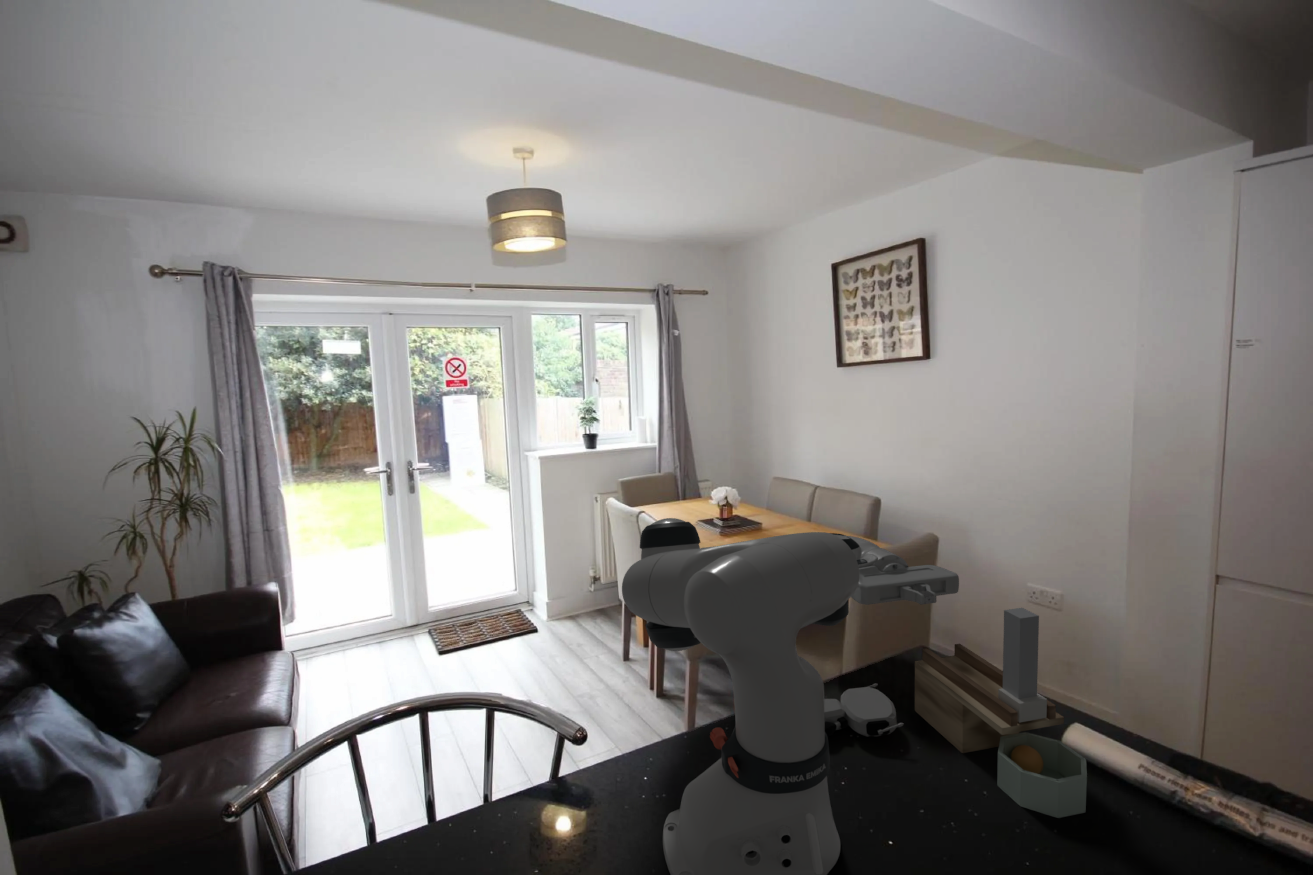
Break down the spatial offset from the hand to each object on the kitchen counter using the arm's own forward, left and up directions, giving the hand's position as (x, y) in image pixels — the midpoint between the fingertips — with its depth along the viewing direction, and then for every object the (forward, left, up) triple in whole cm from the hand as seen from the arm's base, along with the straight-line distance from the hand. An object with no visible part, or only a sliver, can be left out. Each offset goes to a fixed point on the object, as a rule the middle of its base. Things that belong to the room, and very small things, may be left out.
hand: (929, 599), depth 107 cm
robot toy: (-18, -4, -18) cm, 26 cm away
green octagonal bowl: (0, -25, -18) cm, 31 cm away
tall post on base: (0, -21, -9) cm, 23 cm away
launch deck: (0, -13, -18) cm, 22 cm away
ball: (0, -22, -15) cm, 27 cm away
